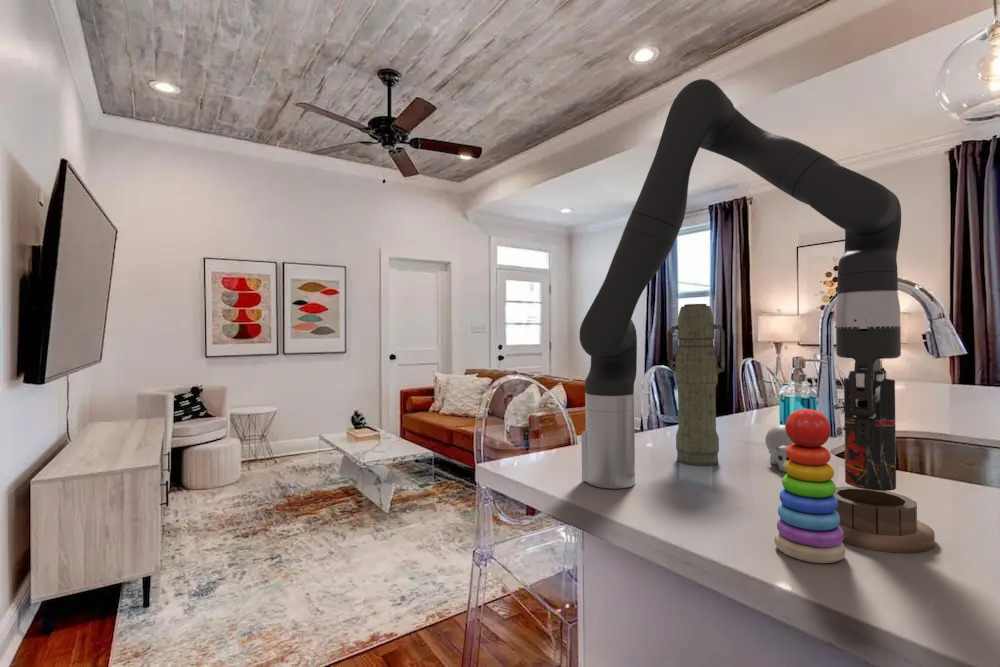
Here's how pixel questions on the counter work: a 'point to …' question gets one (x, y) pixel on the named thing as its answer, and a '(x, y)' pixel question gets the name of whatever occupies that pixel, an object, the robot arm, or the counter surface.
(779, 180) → the robot arm
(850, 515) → the socket stand
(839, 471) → the counter surface
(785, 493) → the stacking toy
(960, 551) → the counter surface
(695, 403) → the thermos
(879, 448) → the deodorant
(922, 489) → the counter surface
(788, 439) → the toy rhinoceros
